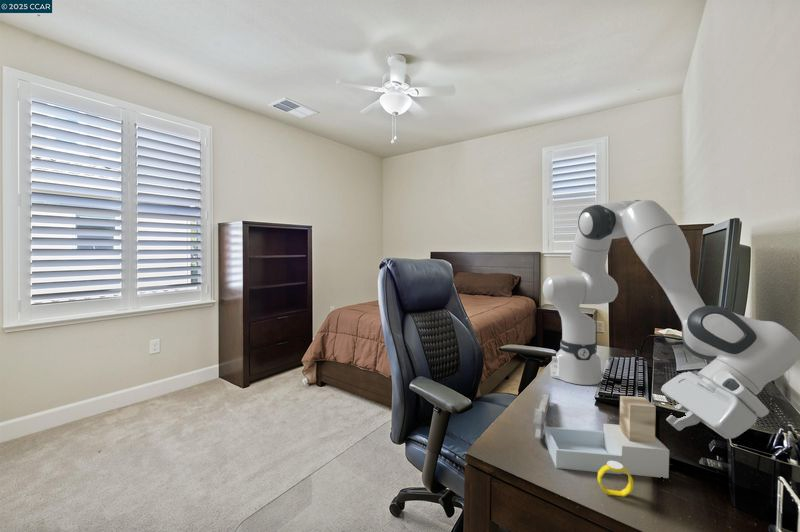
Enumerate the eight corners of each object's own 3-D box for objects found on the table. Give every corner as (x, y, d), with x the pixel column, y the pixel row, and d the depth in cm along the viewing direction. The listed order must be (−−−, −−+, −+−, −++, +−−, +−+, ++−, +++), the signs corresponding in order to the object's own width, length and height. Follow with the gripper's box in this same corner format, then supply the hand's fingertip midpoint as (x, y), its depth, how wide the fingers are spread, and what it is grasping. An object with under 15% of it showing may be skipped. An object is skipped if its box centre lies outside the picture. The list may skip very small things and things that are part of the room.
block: (619, 429, 82) (620, 395, 82) (643, 431, 81) (644, 397, 81) (629, 440, 77) (630, 405, 77) (654, 443, 76) (655, 406, 76)
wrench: (549, 412, 111) (540, 448, 84) (543, 411, 112) (532, 446, 85) (550, 386, 111) (541, 414, 84) (543, 385, 112) (533, 412, 85)
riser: (603, 448, 85) (603, 423, 85) (644, 451, 83) (644, 426, 83) (621, 473, 75) (621, 446, 75) (668, 478, 74) (669, 450, 73)
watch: (601, 498, 68) (599, 467, 68) (596, 488, 71) (594, 459, 71) (636, 500, 67) (634, 469, 67) (629, 490, 70) (627, 461, 70)
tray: (545, 442, 88) (545, 426, 87) (601, 447, 85) (601, 431, 85) (556, 467, 77) (556, 450, 77) (620, 474, 75) (621, 456, 75)
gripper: (683, 359, 86) (638, 395, 88) (750, 391, 66) (690, 438, 68) (703, 378, 85) (657, 414, 88) (777, 417, 65) (715, 463, 67)
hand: (672, 425), depth 78 cm, fingers closed
